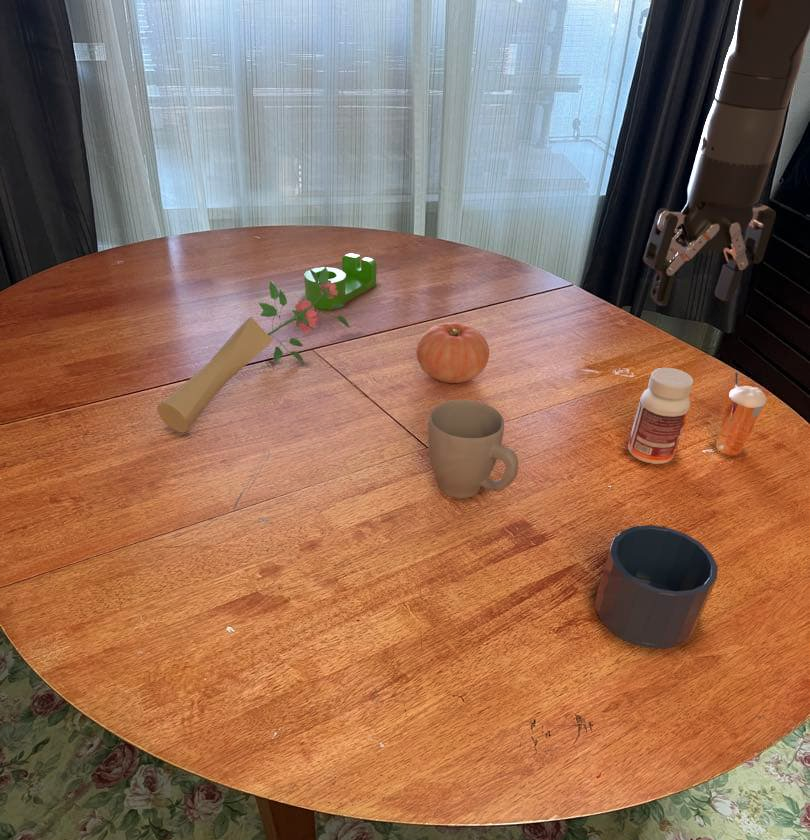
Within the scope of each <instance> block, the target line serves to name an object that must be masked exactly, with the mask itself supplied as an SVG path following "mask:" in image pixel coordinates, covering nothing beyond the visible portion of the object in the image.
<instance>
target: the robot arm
mask: <svg viewBox="0 0 810 840" xmlns="http://www.w3.org/2000/svg"><path fill="white" fill-rule="evenodd" d="M809 34H810V0H740V3H739V9H738V14H737V18H736V24H735V29H734V34H733V38H732V40H731V43H730V45H729V47H728V50H727V51H728V52H727V53H726V57H725V59H724V62H723V67H722V69H721V72H720V77H719V80H718V83H717V84H718V85H717V88H716V91H715V95H714V97H715V98H714V99H713V102H712V105H711V107H710V110H709V113H708V115H707V117H706V121H705V123H704V126H703V129H702V134H701V138H700V141H699V145H698V149H697V152H696V155H695V160H694V163H693V167H692V171H691V175H690V178H689V182H688V184H687V189H686V190H687V191H686V193H687V201H686V204H685V205H684V207H683V209H682V210H681V211H669V210H668V209H666V208H664V207H662V208H659V209H658V210H657V212H656V214H655V218H654V222H653V224H652V228H651V230H650V234H649V238H648V241H647V244H646V246H645V250H644V253H643V257H642V261H643V263H645V264H646V265H647V266H649V267H650V268H651V269H653V270H654V271H655V273H654V277H653V282H652V285H651V289H650V297H651V298H652V301H653V302H654V304H656V305H657V306H659V307H666V306H668V304H669V301H670V296H671V293H672V289H673V285H674V282H675V278H676V274H675V273H677V271H678V270H679V269H680V268H681V267H682V265H684V263H685V262H688V261H690V260H692V259H693V258H694V257H695V256H696V255H697V254H698V253H699V254H702V253H708V252H711V251H714V252H716V253H717V252H719V253H720V252H723V254H724V257H725V260H726V262H727V263H724V264H723V265H722V268H721V271H720V274H719V278H718V281H717V284H716V287H715V290H714V296H715V297H716V298H717V299H719V300H720V301H722V302H727V301H730V300H731V298H732V296H734V294H735V292H736V291H737V288H738V286H739V282H740V279H741V277H742V273H743V270H745V269H747V267H748V266H749V265H752V264H755V265H757V264H760V263H761V262H762V261H763V260H764V256H765V252H766V250H767V246H768V243H769V240H770V236H771V233H772V230H773V226H774V223H775V221H776V220H775V219H776V216H777V211H776V210H774V209H772V208H771V207H769V206H767V205H764V204H762V203H758V202H759V201H760V199H761V196H762V193H763V190H764V188H765V187H764V186H765V184H766V181H767V179H768V174H769V172H770V168H771V165H772V162H773V160H774V156H775V154H776V151H777V148H778V146H779V145H778V144H779V141H780V139H781V135H782V132H783V127H784V123H785V118H786V112H787V110H788V106H789V103H790V100H791V97H792V95H793V91H794V87H795V86H796V81H797V80H798V79H797V78H798V75H799V73H800V68H801V67H802V62H803V56H804V51H805V46H806V41H807V39H808V36H809ZM747 226H748V227H747ZM679 227H680V229H679ZM746 228H747V230H746V234H745V238H743V235H742V232H743V231H744V230H745V229H746ZM674 234H675V235H674ZM684 242H685V243H686V245H687V246H683V244H684Z"/></svg>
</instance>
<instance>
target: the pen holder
mask: <svg viewBox="0 0 810 840" xmlns="http://www.w3.org/2000/svg"><path fill="white" fill-rule="evenodd" d="M718 567H719V566H718V563H717V562H716V560H715V558H714V556H713V554H712V553H711V551H709V549H707V547H705V545H704V544H702V542H700V541H699V540H697V539H695V538H694V537H692V536H690V535H689V534H687V533H685V532H683V531H680V530H676V529H674V528H671V527H668V526H661V525H660V526H659V525H652V524H647V525H646V524H645V525H634V526H631V527H628V528H626V529H624V530H621V531H620V532H619V533H618V534H617V535H616V536H615V537H614V538H613V539H612V541H611V544H610V548H609V550H608V554H607V557H606V560H605V564H604V567H603V571H602V575H601V577H600V581H599V585H598V587H597V593H596V596H595V600H594V606H595V612H596V613H597V616H598V618H599V620H600V622H601V623H602V624H603V625H604V627H606V628H607V629H608V630H609V631H610V632H611V633H612V634H614V635H615V636H616V637H618V638H620V639H621V640H623V641H625V642H627V643H630V644H632V645H635V646H638V647H642V648H647V649H655V650H658V649H660V650H661V649H670V648H674V647H677V646H679V645H682V644H683V643H685V642H686V641H687V640H689V639H690V638H691V636H692V635H693V633H694V631H695V629H696V628H697V625H698V624H699V621H700V619H701V616H702V614H703V612H704V609H705V607H706V605H707V602H708V601H709V598H710V596H711V593H712V590H713V588H714V586H715V584H716V581H717V579H718V570H719V569H718Z"/></svg>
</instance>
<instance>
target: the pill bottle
mask: <svg viewBox="0 0 810 840" xmlns="http://www.w3.org/2000/svg"><path fill="white" fill-rule="evenodd" d="M693 385H694V379H693V377H692V376H691V375H690V374H689V373H687V372H686V371H683V370H681V369H678V368H674V367H658V368H656V369H654V370H653V371H652V372H651V375H650V377H649V380H648V383H647V388H646V389H645V390H643V392H642V394H641V396H640V399H639V402H638V407H637V410H636V414H635V417H634V421H633V424H632V428H631V432H630V435H629V439H628V443H627V450H628V452H629V454H630V455H631V456H632V457H633V458H635V459H636V460H638V461H641V462H644V463H647V464H654V465H661V464H667V463H669V462H670V461H672V460H673V458H674V457H675V454H676V451H677V448H678V446H679V442H680V440H681V437H682V434H683V430H684V427H685V425H686V421H687V417H688V415H689V412H690V409H691V399H690V398H689V396H690V394H691V392H692V387H693Z"/></svg>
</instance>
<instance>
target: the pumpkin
mask: <svg viewBox="0 0 810 840" xmlns="http://www.w3.org/2000/svg"><path fill="white" fill-rule="evenodd" d="M416 357H417V361H418V363H419V365H420V367H421V369H422V370H423V371H424V372H425V373H426V374H427V375H428V376H430V377H431V378H433V379H435V380H437V381H440V382H442V383H446V384H447V383H448V384H458V383H460V384H461V383H464V382H468V381H471V380H473V379H475V378H477V377H478V376H479V375H480V374H481V373H482V372H483V371H484V370H485V368H486V367H487V364H488V362H489V358H490V347H489V343H488V341H487V340H486V338H485V337H484V335H483V334H482V333H481V331H480V330H478V329H476V328H475V327H474V326H471V325H468V324H464V323H461V322H443V323H439V324H435V325H433V326H432V327H430V328H429V329H427V330H426V331H424V333H423V334H422V335H421V337H420V339H419V340H418V343H417V347H416Z"/></svg>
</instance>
